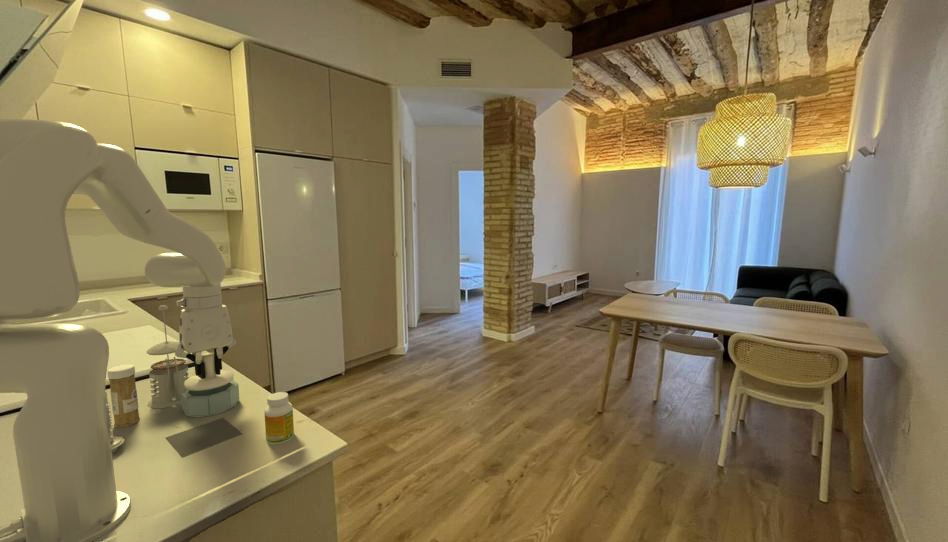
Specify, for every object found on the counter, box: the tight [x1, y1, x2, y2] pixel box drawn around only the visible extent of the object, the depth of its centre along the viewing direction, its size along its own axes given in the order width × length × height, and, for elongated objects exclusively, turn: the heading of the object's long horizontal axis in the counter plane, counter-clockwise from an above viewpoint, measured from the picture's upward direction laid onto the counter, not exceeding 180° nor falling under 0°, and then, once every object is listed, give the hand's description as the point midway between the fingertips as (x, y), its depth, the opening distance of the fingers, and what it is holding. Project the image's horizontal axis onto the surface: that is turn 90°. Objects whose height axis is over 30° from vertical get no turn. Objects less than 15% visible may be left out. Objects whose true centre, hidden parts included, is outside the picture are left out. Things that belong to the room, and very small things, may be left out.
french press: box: [145, 304, 190, 409], centre depth 99 cm, size 10×12×25 cm
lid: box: [184, 352, 234, 391], centre depth 96 cm, size 10×10×7 cm
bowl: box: [181, 379, 240, 418], centre depth 97 cm, size 11×11×5 cm
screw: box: [105, 391, 125, 454], centre depth 77 cm, size 13×5×5 cm
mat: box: [165, 417, 244, 458], centre depth 84 cm, size 11×11×1 cm
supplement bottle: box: [264, 391, 295, 445], centre depth 83 cm, size 5×5×10 cm
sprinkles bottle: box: [106, 364, 141, 428], centre depth 88 cm, size 5×5×13 cm
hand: (209, 374), depth 96 cm, fingers closed on lid, 2 cm apart
